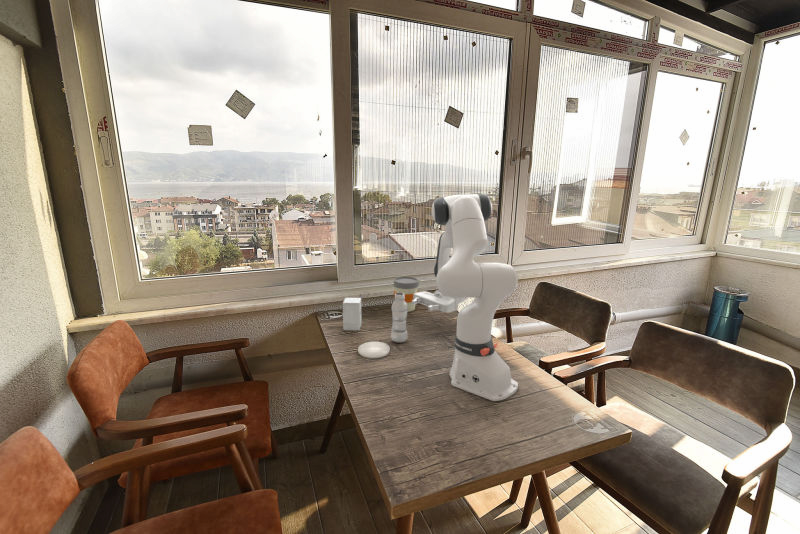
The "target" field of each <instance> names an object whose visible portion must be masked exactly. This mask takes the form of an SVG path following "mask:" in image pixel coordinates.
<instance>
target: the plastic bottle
mask: <svg viewBox="0 0 800 534" xmlns="http://www.w3.org/2000/svg"><path fill="white" fill-rule="evenodd" d="M395 299H396V300H395ZM404 299H405V295H404V293H396V294H395V295H394V301H393V302H392V305H391V313H392V327H391V333H390V338H391V340H392V342H395V343H397V344H398V343H405V342H406V340H407V339H408V330H407V318H408V317H407V316H408V312H407V311H408V305H407V303H406V302H405V300H404Z"/></svg>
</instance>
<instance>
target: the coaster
mask: <svg viewBox="0 0 800 534" xmlns="http://www.w3.org/2000/svg"><path fill="white" fill-rule="evenodd" d="M390 349H391V348H390V346H389V344H387V343H385V342H383V341H381V342H380V341H368V342H364V343H362V344H360V345H359V346H358V348H357V351H358V355H360V356H362V357H364V358H368V359H380V358H383V357H386V356H388V355H389V354H390V351H391V350H390Z"/></svg>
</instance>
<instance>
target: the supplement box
mask: <svg viewBox="0 0 800 534" xmlns="http://www.w3.org/2000/svg"><path fill="white" fill-rule="evenodd" d="M342 323H343V324H342V326H343V327H342V330H343V331H357V330H358V331H361V326H362V297H345V298H344V299H343V302H342Z"/></svg>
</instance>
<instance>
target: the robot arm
mask: <svg viewBox="0 0 800 534" xmlns="http://www.w3.org/2000/svg"><path fill="white" fill-rule="evenodd" d="M492 210H493V205H492V201H491V199H490V197H489V196H488V195H487V194H484V193H477V194H476V193H475V194H469V193H468V194H455V195H449V196H440V197H438V198H435V199H434V201H433V203H432V205H431V210H430V211H431V217H432V220H434V223H435V224H436V225H439V226H444V232H443V233H441V234H440V237H439V238H438V239H439V240H438V244H437V252H436V261H435V265H434V268H433V274H434V277H435V282H436V283H435V284H436V287H437V289H436V290H435V291H434V292H433V293H432V292H429V291H423V290H422V291H418V292H417V293H414V295H413V300H412V304H414V305H415V306H416V305H418V304H421V305H423V306H426V307H427V311H430V312H433V311H439V312H442V313H446V314H448V313H449V314H450V313H453V312H456V311H458V309H459V305H460V304H462V303H463V302H465V301H467V300H468V299H469V298H470V299H471V298H474V299H473V300H472V301H471V303H469V304H468V305H466V306H464V307H463V308H461V309H460V310H459V312H458V314H457V317H456V318H457V319H456V320H457V321H456V334H455V335H454V349H455V350H454V356H453V361H452V365H451V368H450V371H449V376H450V379H451V383H450V384H451V386H453V387H455V388H457V389H460V390H463V391H465V392H468V393H471V394H473V395H476V396H477V397H482V398H484V399H487V400H489V401H491V402H498V401H504V400H505V399H508V398H510V397H511V396H513V395H514V394H516V393H517V391H518V389H519V382H518V381H516V380H514V379H513V378H512V374H511V373H512V372H511V368H510V366H509V365H508V364H507V363H506V361H504V360H503V359H502V357H501V356H500V355H499V354H498V352H497V351H496V348H497V347H498V344H499V343H498V342H496V343H495V344H494V341H493V339H492V328H493V321H494V317H495V314H496V311H497V310H498V308H499V307H500V306H501V304H502V303H503V302H504V300H505V299H506V298H508V297H509V296H511V295H512V294H514V292H515V291H516V289H517V287H518V283H519V277H518V272H517V271H516V269H515V268H514V267H513V266H512V265H511V264H507V263H504V262H503V263H501V262H475V260H474V258H476V257H478V256H480V255H482V253H484V252H485V251H486V250H487V248H488V245H489V244H488V243H489V239H488V235H487V228H486V225H485V223H486V222H487V221H488V220H489V219H490V218H491V217H492V216H491V215H492V212H493V211H492ZM451 249H453V251H452V253H451ZM450 254H451V255H450Z"/></svg>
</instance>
